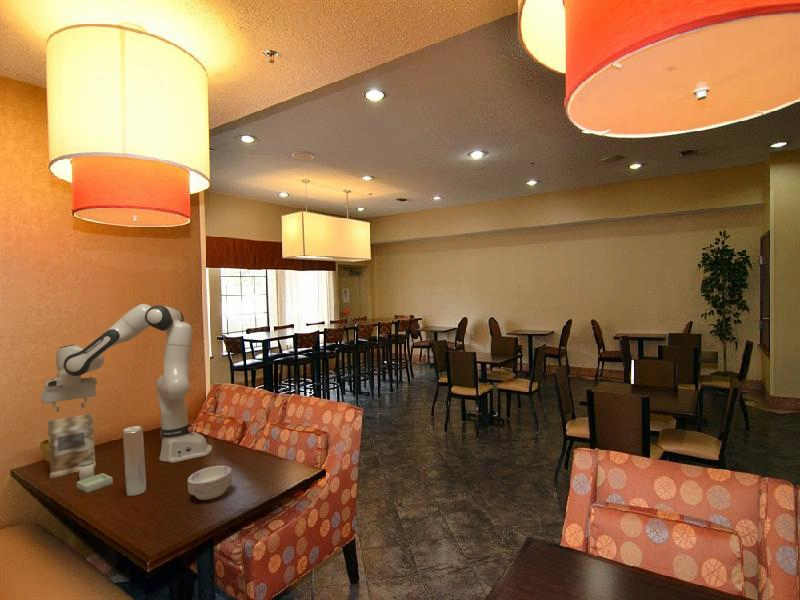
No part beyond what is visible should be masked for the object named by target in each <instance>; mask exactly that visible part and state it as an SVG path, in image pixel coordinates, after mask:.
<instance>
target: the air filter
mask: <svg viewBox="0 0 800 600" xmlns="http://www.w3.org/2000/svg"><path fill="white" fill-rule="evenodd" d="M122 440H123V453H124V454H123V455H124V474H125V488H126V489H125V491H126V496H128V497H129V496H130V497H131V496H132V497H133V496H137V495H138V496H139V495H140V494H143V493H145V492H146V490H147V478H146V475H147V474H146V462H145V460H146V459H145V446H144V445H145V442H144V429H143V428H142V427H141V426H140V425H135V426H134V425H133V426H130V427H129V426H128V427H126V428H124V429H123V432H122Z"/></svg>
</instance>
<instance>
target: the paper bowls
mask: <svg viewBox="0 0 800 600" xmlns="http://www.w3.org/2000/svg"><path fill="white" fill-rule="evenodd" d="M188 476H189V475H188ZM232 483H233V470H232V468H231V467H229V466H227V465H216V466H215V465H213V466H209V467H205V468H202V469H200V470H198V471H195V472H194V473H191V475H190V476H189V477H187V490H188V494H190V495H192V496H194V497H195V498H196V499H198V500H201V501H207V500H213V499H216V498H218V497H220V496H222V495H224V494H225V492H227V489H228V487H229V486H231V485H232Z"/></svg>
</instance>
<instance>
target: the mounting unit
mask: <svg viewBox="0 0 800 600" xmlns="http://www.w3.org/2000/svg"><path fill="white" fill-rule="evenodd" d="M93 417H94V416H93V413H87V414H81V415H75V416H69V417H62V418H59V419H52V420H47V434H48V435H47V436H48V439H49V455H50V462H49V469H50V473H49V479H54V478H59V477H63V476H67V475H71V474H75V473H74V472H76V473H79V472H78V471H79V463H80V462H83V461H86V460H94V469H96V467H97V464H96V450H95V449H96V448H95V434H94V431H95V430H94V429H95V428H94V419H93ZM70 473H71V474H70ZM66 474H67V475H66ZM62 475H63V476H62ZM58 476H59V477H58Z"/></svg>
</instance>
